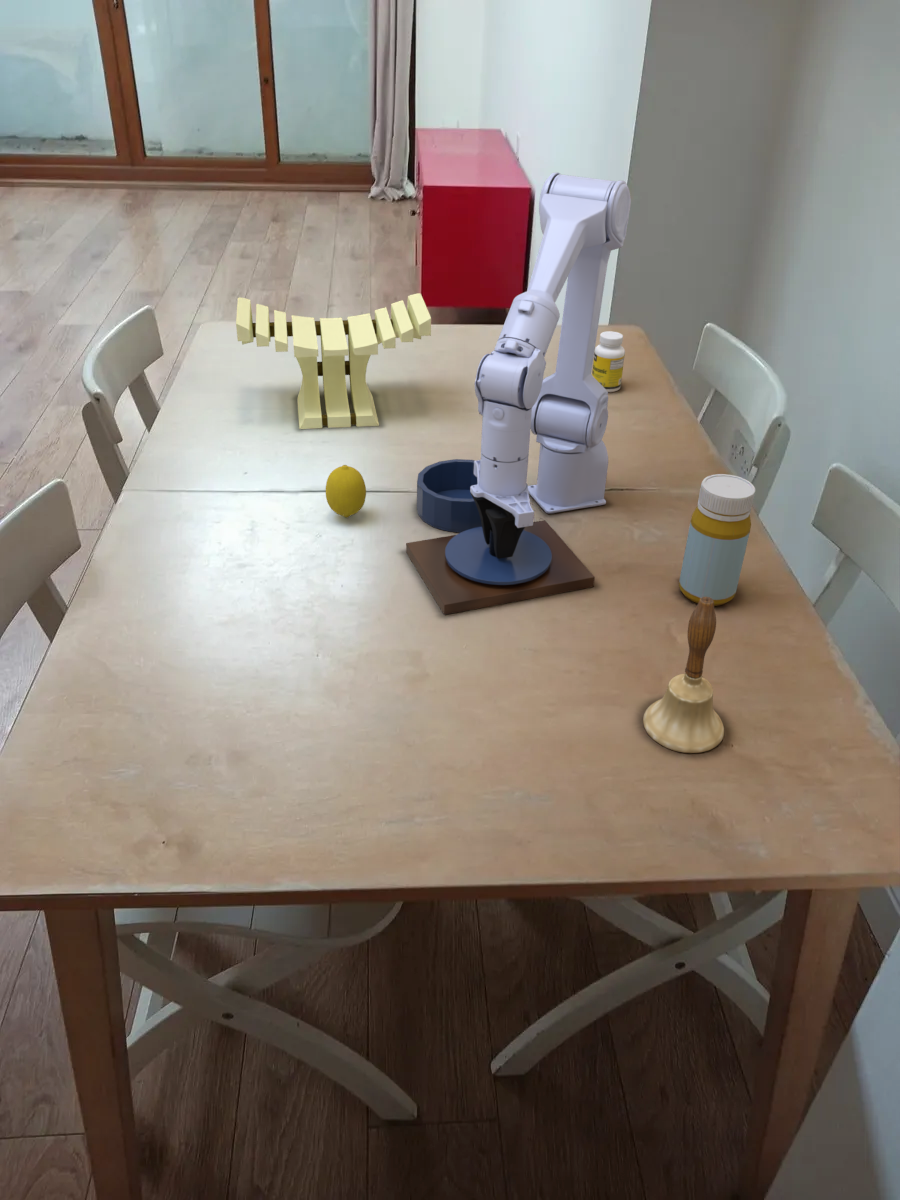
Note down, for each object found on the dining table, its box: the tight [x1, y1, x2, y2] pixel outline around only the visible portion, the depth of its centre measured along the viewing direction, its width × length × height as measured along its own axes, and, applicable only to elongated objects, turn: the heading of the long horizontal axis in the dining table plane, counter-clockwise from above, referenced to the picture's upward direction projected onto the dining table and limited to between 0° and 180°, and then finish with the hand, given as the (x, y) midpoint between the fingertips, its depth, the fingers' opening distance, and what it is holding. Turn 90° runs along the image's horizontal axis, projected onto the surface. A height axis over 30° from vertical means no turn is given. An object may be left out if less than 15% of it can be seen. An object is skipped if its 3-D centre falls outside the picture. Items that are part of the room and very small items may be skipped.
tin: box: [416, 458, 482, 534], centre depth 137 cm, size 13×13×5 cm
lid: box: [445, 527, 552, 585], centre depth 123 cm, size 14×14×4 cm
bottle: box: [678, 473, 756, 607], centre depth 118 cm, size 7×7×15 cm
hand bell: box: [642, 597, 725, 754], centre depth 97 cm, size 8×8×16 cm
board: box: [405, 519, 596, 616], centre depth 125 cm, size 20×15×2 cm
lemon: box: [325, 464, 367, 519], centre depth 133 cm, size 6×6×8 cm
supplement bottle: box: [591, 330, 626, 393], centre depth 174 cm, size 5×5×10 cm
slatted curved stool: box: [235, 292, 432, 430], centre depth 161 cm, size 30×16×18 cm, turn 99°
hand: (498, 549), depth 124 cm, fingers open, 3 cm apart
